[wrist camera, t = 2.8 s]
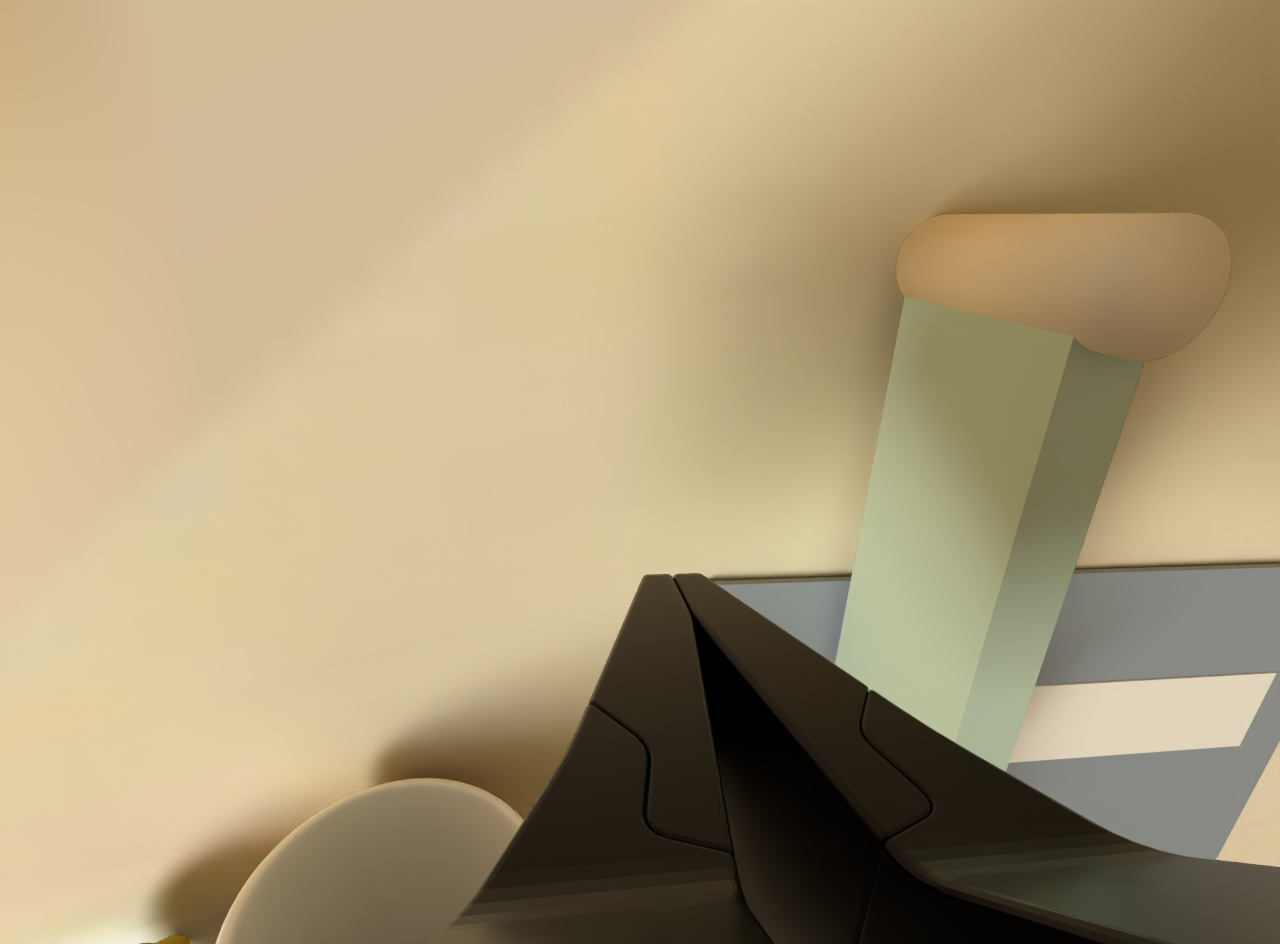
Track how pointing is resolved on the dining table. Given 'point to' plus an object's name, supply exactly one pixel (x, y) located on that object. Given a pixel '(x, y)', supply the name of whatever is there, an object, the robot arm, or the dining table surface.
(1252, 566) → the card
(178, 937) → the lemon
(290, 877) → the white tumbler
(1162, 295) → the fence panel
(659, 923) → the robot arm
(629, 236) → the dining table surface
